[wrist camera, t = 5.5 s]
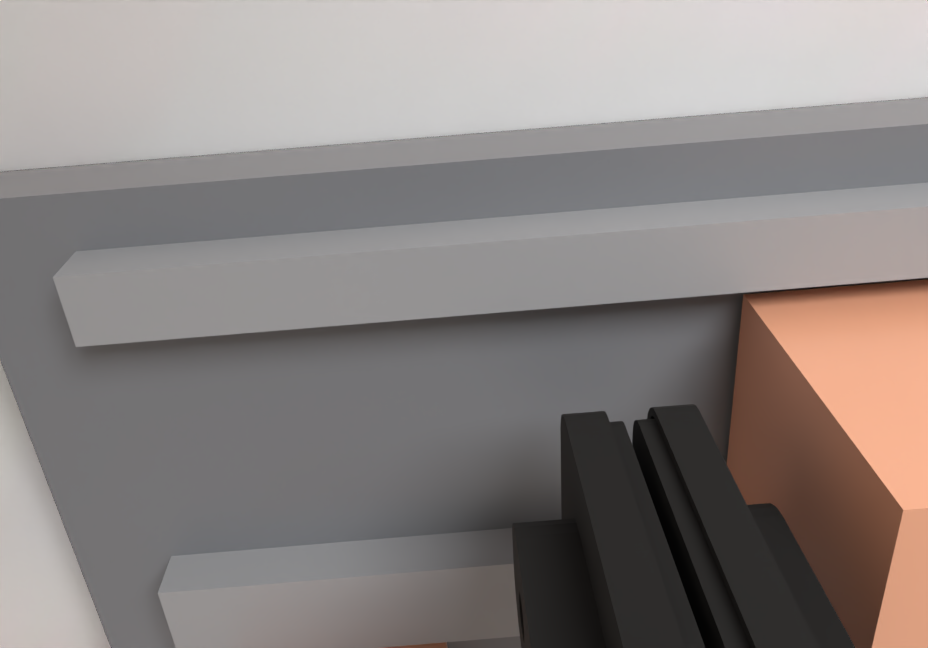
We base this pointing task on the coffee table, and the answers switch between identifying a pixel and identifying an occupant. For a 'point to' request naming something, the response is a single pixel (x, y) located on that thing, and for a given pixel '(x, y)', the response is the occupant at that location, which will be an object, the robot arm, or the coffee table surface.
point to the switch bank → (402, 347)
